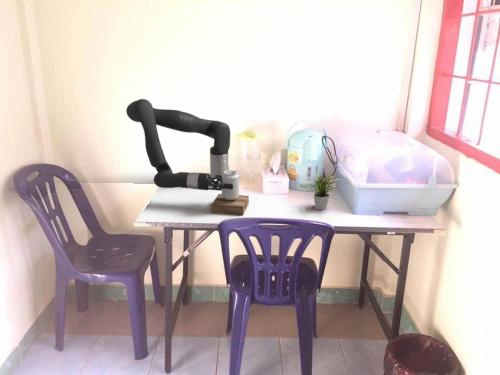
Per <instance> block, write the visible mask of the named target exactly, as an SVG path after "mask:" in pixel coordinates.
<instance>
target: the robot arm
mask: <svg viewBox="0 0 500 375" xmlns="http://www.w3.org/2000/svg"><path fill="white" fill-rule="evenodd" d="M126 115H127V117H128V118H129V119H130V120H131V121H133V122H136V123H140V125H141V126H142V129H143V133H144V143H145V144H144V145H145V151H146V154H147V157H148V160H149V164H150V165H151V167H153V168H155V170H156V172H157V173H156V174H155V175H154V176H153V182H154V185H155V186H156V187H158V188H161V189H171V188H172V189H174V188H182V189H183V188H184V189H192V190H198V191H199V190H200V191H208V190H210V191H218V192H219V191H221V192H222V189H233V184H224V183H222V175H223V174H224V173H223V172H224V171H228V170H230V166H229V150H230V148H231V147H230V146H231V128H230V126H229V124H228V123H226V122H222V121H219V120H212V119H205V118H200V117H198V116H197V115H194V114H192V113H189V112H187V111H182V110H178V109H167V108H166V109H162V108H156V107H153V105H152V103H151V101H149V100H148V99H146V98H140V99H137V100H134V101H132V102H130V103H129V104H128V105H127V107H126ZM158 126H160V127H162V128H165V129H169V130H174V131H177V132H181V133H191V134H192V133H195V134H200V135H202V136H206V137H209V138H210V139H212V140H213V146H211V147H210V148H209V171H210V173H209V172H207V173H206V172H185V171H179V172H176V173H173V170H172V168H171V166H170V165H169V163H168V161H167V159H166V156H165V153H164V151H163V148H162V144H161V140H160V136H159V131H158Z"/></svg>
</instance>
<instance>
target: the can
mask: <svg viewBox="0 0 500 375" xmlns="http://www.w3.org/2000/svg"><path fill="white" fill-rule="evenodd" d="M223 173H224V174H223V175H222V183H224V184H233V189H222V190H221V194H222V197H223V198H224V199H226V200H234V199H236V198H237V197H239V195H240V194H239V193H240V192H239V191H240V180H239V179H240V175H239V173H238V171H236V170H230V169H229V170H228V171H224V172H223Z"/></svg>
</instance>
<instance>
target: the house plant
mask: <svg viewBox="0 0 500 375" xmlns="http://www.w3.org/2000/svg"><path fill="white" fill-rule="evenodd" d="M332 177H333V175H330V174H327V176H326V177H325V179H324V178H323V174H322V172H321V173H317V180H316V178H314V177H313V176H311V179H313V180H312V182H314V184H315V185H316V186H315V185H313V184H309V185H308V187H311V188H313V189H314V190H315V191H314V193H313V200H314V208H315V209H316V210H322V211H323V210H327V207H328V204H329V200H330V194H329V193H328V192H331V193H332V194H333V193H334V191H333V190H335V189H336V188H335V187H337V186H338V185H334V186H333V185H332V184H335V183H336V184H337V183H339V182H338V180H340V178H337V179H333V180H331V178H332Z"/></svg>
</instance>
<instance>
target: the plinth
mask: <svg viewBox="0 0 500 375" xmlns="http://www.w3.org/2000/svg"><path fill="white" fill-rule="evenodd" d="M249 196H250V195H242V194H239V197H237V198H236V199H234V200H226V199H224V198H223V197H222V193H218V195H217V196H216V198H214V200H213V201H212V202H211V204H210V206H211V207H210V208H211V211H210V212H211V213H210V214H219V215H221V214H222V215H234V216H243V215H244V214H245V212H246V210H247V208H248V206H249V199H250V198H249Z"/></svg>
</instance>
